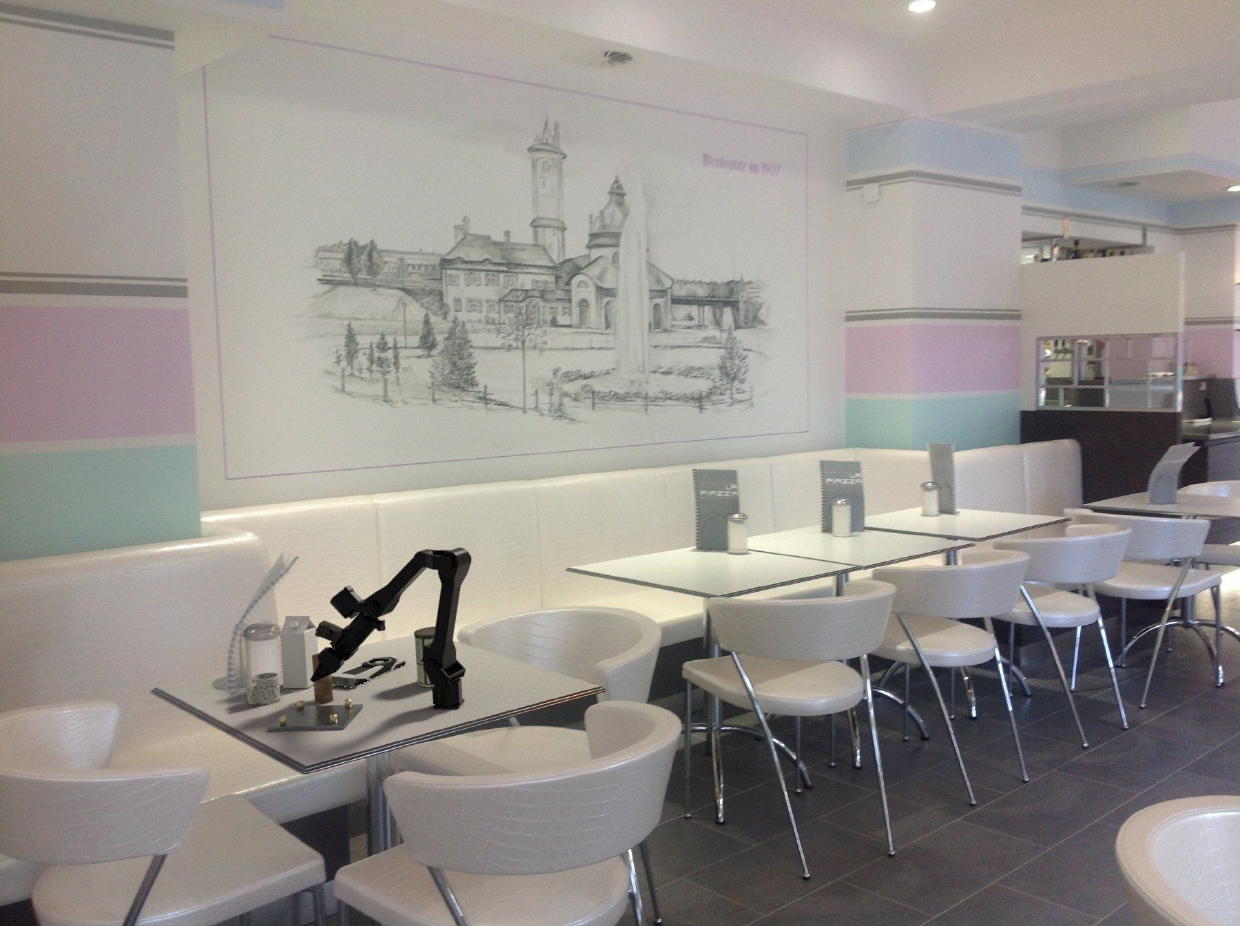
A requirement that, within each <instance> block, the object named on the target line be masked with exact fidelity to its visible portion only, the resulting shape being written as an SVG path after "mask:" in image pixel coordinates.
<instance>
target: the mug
mask: <svg viewBox="0 0 1240 926" xmlns="http://www.w3.org/2000/svg"><path fill="white" fill-rule="evenodd" d="M246 699H247V703H248V704H249V705H256V706H268V705H273V704H277V703H279V702H280V701H281V689H280V675H279V673H277V672H263V673H258V674H255V675H253V676H251V684H250V685H248V687H246Z"/></svg>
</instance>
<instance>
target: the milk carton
mask: <svg viewBox="0 0 1240 926" xmlns="http://www.w3.org/2000/svg"><path fill="white" fill-rule="evenodd" d="M284 618H285V620H284V623H283V625H282V628H281V630H280V632H281V634H280V633H279V639H280V655H281V669H282V686H283V688H284V689H309V688H310V687H312V686H314V685H313V684H314V682H312V681H311V680H310V679H311V677H312V675H313V665H312V655H314V654H317V653H319V643H318V637H317V636H315V633H316V629H317V628H318V626H316V625H315V624H314V623H313V622H312V620H311V616H310V615H285V617H284Z"/></svg>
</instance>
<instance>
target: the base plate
mask: <svg viewBox="0 0 1240 926" xmlns="http://www.w3.org/2000/svg"><path fill="white" fill-rule="evenodd" d="M362 709H363V703H359V704H358V703H357V704H352V698H346V699H344V704H331V705H329V704H327V705H305V706H304V700H297V701H296V705H295V706H293V705H292V706H290V707H288V709H286V710H285V711H284V712H283V713H282V714H281V715H280V716H279V717H278V718H277V719H276V720H274V721H273V722H272V723H271V724H269V726H268V727H267V730H268V733H269V732H291V731H292V732H295V731H323V730H329V731H330V730H345V729H346V728H347V727H348V725H349V724H350V723H351V722H352V721H353V720H354V719H355V718H356V716H358V714H359V713H360V712H361V711H362Z"/></svg>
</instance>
